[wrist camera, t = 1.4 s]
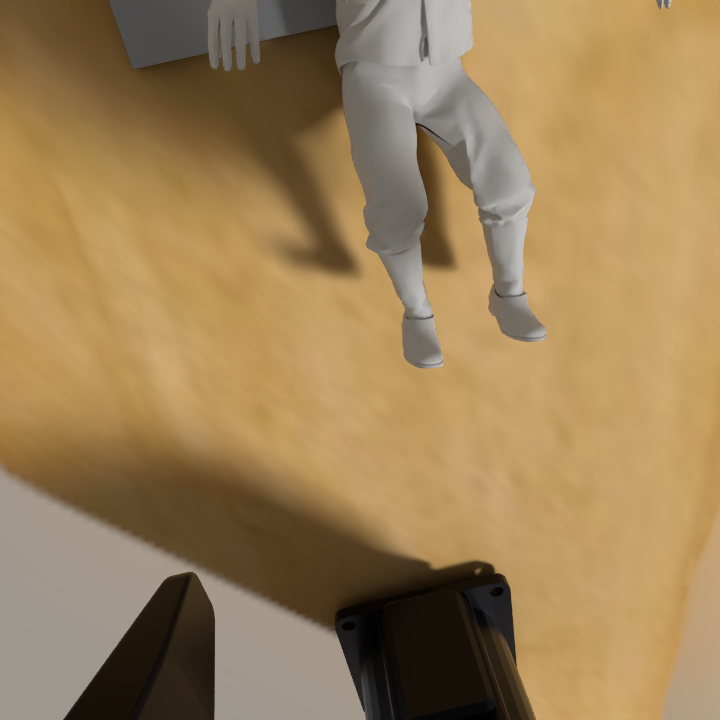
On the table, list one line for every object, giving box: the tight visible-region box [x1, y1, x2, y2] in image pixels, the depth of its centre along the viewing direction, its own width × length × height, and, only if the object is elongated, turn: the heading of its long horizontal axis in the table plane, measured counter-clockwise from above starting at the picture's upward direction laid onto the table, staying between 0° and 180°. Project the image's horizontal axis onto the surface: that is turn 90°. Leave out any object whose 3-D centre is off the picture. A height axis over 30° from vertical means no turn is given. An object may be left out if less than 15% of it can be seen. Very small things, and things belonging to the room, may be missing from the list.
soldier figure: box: [207, 0, 672, 368], centre depth 10 cm, size 8×5×12 cm
